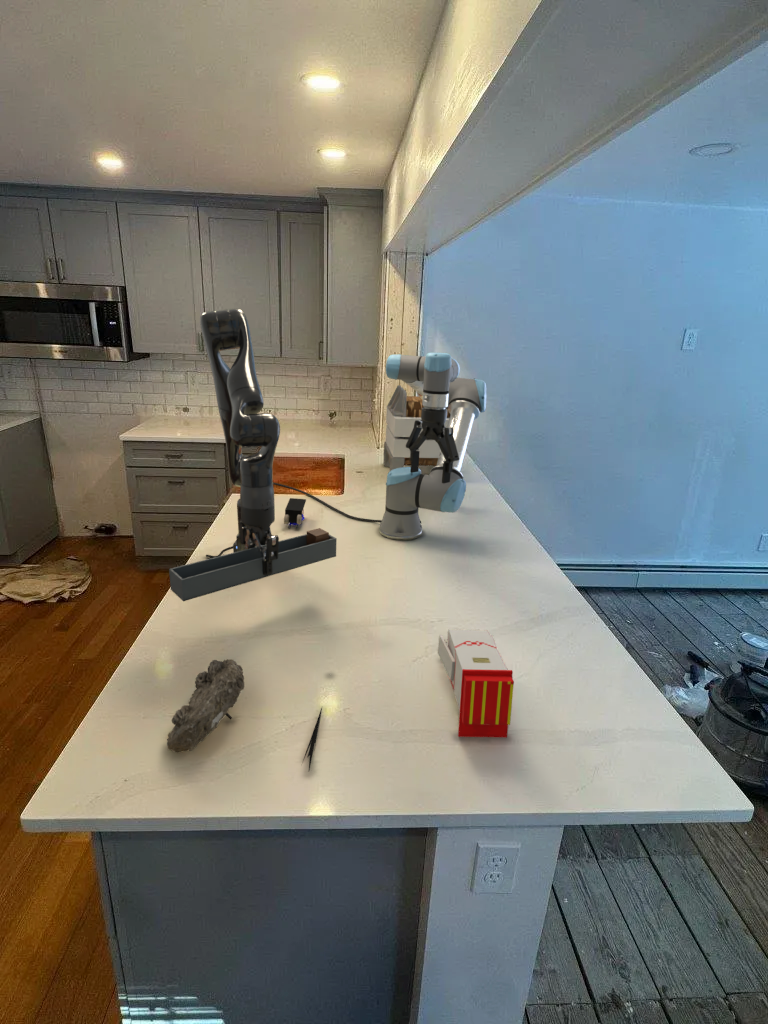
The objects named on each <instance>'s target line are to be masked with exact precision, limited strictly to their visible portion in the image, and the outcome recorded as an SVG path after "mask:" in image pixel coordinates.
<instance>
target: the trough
mask: <svg viewBox="0 0 768 1024" xmlns="http://www.w3.org/2000/svg"><path fill="white" fill-rule="evenodd" d="M261 547H266V545H263V546H261ZM273 554H274V551H273ZM265 555H266V550H265ZM217 556H218V555H217ZM335 557H337V537H335V536H333V535H331V534H329V540H325V541H321V542H318V543H314V544H310V545H307V533H306V534H302V535H301V534H300V535H297V536H293V537H289V538H286V539H282V540H279V549H278V559H276V560H272V574H270V575H266V576H265V575H263V566H262V561H263V559H262V556H261V553H260V552H258V549H257V547H254V548H250V549H246V550H242V551H238V552H234V553H233V552H231V553H225V554H222V555H221V556H218V557H214V558H210V557H209V558H207V559H206V558H205V559H203V560H198V561H195V562H191V563H188V564H183V565H179V566H174V567H172V568H169V569H168V574H169V584H170V590H171V592H173V593H174V595H176V596H177V597H178V598H179V599H180V600H181V601H182V602H187V601H190V600H194V599H196V598H200V597H203V596H206V595H210V594H213V593H217V592H220V591H224V590H227V589H231V588H234V587H238V586H241V585H244V584H247V583H251V582H254V581H257V580H261V579H264V578H267V577H271V576H275V575H277V574H281V573H284V572H289V571H291V570H292V571H293V570H294V569H299V568H301V567H305V566H309V565H312V564H315V563H319V562H322V561H326V560H328V559H331V558H335Z"/></svg>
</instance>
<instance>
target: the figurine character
mask: <svg viewBox="0 0 768 1024" xmlns="http://www.w3.org/2000/svg"><path fill="white" fill-rule="evenodd" d="M306 502H307V499H305V498H294V497H290V498H289V499H288V502H287V504H286V507H285V508H284V518H283V524H284V525H287V528H288V529H291V526H296V528H295V529H299V527H300V525H302V524H303V521H304V520H305V519H306V518H305V515H304V514H305V510H304V508H305V505H306Z"/></svg>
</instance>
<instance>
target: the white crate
mask: <svg viewBox="0 0 768 1024" xmlns="http://www.w3.org/2000/svg"><path fill="white" fill-rule="evenodd" d="M407 394H408V393H407V390H406V389H404V388H403V387H402V385H399V384H398V385H397V386H396V388H395V390H394V392H393V394H392V395H391V398H390V400H389V402H388V404H387V405H386V413H385V414H386V415H385V423H386V428H385V438H384V442H383V466H384V467H388V468H389V472H390V471H391V470H393V469H396V468H402V467H405V466H406V467H411V461H410V449H409V448H406V444H407V441H408V439H409V437H410V435H411V432H412V430H413V428H414V423H415V421H416V420H422V419H421V413H422V408H423V407H424V406H423V405H422V399H421V398H420V397H419V396H418V395H417V396H415V395H414V396H413V395H412V396H411V395H407ZM449 418H450V413H449V411H448V409H447V420H446V422H445V427H446V428H447V425H448V422H449ZM422 431H423V429H421V432H422ZM421 432H420V433H421ZM419 436H420V435H419ZM419 436H418V437H419ZM440 438H441V437H440ZM416 451H420V452H419V467H435V466H436V465H437V462H438V458H439V454H440V451H441V449H440V447H439V445H438V443H437V442H436V441H435V440H432V439H430V438H427V439H426V440H425V441H424V442H423V444H422V445H421V446H420V447H419V450H416ZM460 472H461V473H462V470H461V471H460Z"/></svg>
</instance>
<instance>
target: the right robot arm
mask: <svg viewBox="0 0 768 1024" xmlns="http://www.w3.org/2000/svg"><path fill="white" fill-rule="evenodd" d="M460 372H461V366H460V364H459V362H458V361H457V360H456V358H453V357H452V355H451V354H450V353H447V352H436V351H435V352H427V353H426V355H424V356H423V355H422V356H421V355H409V354H400V353H399V354H398V353H397V354H390V355H389V356H388V357H387V359H386V362H385V375H386V377H387V378H388V379H390V380H395V381H397V380H400V381H402V382H403V383H405V384H406V385H408V386H409V387H410V388H411V389H413V390H414V391H415V393H416V394H417V396H418V397H420V398H421V399H422V405H423V406H424V407H423V408H422V413H421V419H422V420H416V421H415V423H414V428H413V430H412V432H411V435H410V437H409V439H408V441H407V444H406V448H409V449H410V461H411V466H404V467H402V468H396V469H393V470H391V471H390V470H389V472H388V473H387V475H386V482H385V504H384V505H385V507H384V508H385V509H384V513H383V515H382V519H373V518H364V517H363V518H362V517H359V516H358V517H357V516H353V515H349V514H348V513H346V512H344V511H342V510H340V509H338V508H336V507H334V506H332V505H330V504H328V503H327V502H325V501H323V500H322V499H320V498H318V497H317V496H314V495H312V494H311V493H308V492H306V491H304V490H301V489H299V488H295V487H293V486H289V485H285V484H282V483H277V482H274V481H273V486H277V487H282V488H286V489H289V490H292V491H296V492H298V493H301V494H303V495H305V496H308V497H310V498H312V499H314V500H316V501H317V502H319V503H321V504H323V505H324V506H326V507H328V508H330V509H331V510H334V511H335V512H336V513H339V514H341V515H343V516H345V517H347V518H349V519H352V520H357V521H362V522H370V523H379V526H378V533H379V534H380V535H381V536H382V537H385V538H387V539H389V540H395V541H410V540H415V539H418V538H420V537H421V536H422V535H423V525H422V524H423V523H422V520H421V518H420V515H419V509H424V510H430V511H435V512H436V511H437V512H441V513H456V512H457V511H459V509H460V508H461V506H462V505H463V501H464V499H465V494H466V490H467V482H466V480H465V479H464V475H463V473H462V467H463V464H464V458H465V455H466V450H467V447H468V444H469V439H470V437H471V431H472V428H473V424H474V421H475V420H477V419H478V418H479V416H480V414H481V413H484V412H486V410H487V383H486V381H485V380H484V379H477V378H465V377H459V375H460ZM447 409H448V411H449V413H450V418H449V422H448V425H447V428H446V427H445V422H446V420H447ZM421 429H423V431H422V432H421ZM420 432H421V433H420ZM419 435H420V436H419ZM418 436H419V437H418ZM440 437H441V438H440ZM427 438H430V439H432V440H435V441H436V442H437V443H438V445H439V447H440V449H441V451H440V454H439V458H438V462H437V465H436V466H432V468H430V471H429V474H425V473H422V470H421V468H419V467H420V466H419V452H420V451H416V450H419V447H420V446H421V445H422V444H423V442H424V441H425V440H426V439H427ZM460 471H461V472H460Z"/></svg>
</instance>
